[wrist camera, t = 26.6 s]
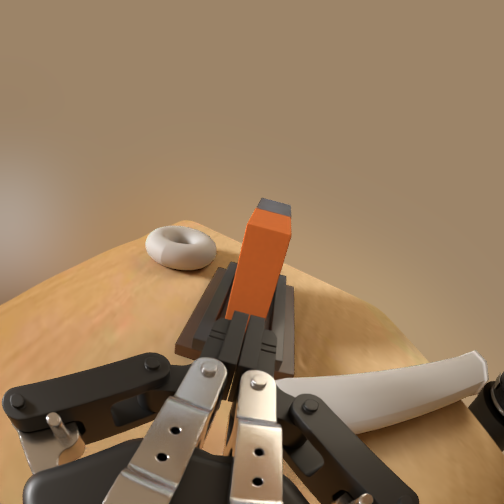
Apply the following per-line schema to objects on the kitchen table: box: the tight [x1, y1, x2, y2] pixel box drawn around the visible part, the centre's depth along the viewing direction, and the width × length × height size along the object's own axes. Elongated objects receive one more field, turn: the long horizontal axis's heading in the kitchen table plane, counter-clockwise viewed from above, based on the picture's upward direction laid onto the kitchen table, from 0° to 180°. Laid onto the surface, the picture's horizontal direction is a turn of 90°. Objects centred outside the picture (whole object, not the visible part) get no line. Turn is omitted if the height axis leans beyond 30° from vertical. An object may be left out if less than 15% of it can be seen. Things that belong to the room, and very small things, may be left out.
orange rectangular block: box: [225, 208, 291, 332], centre depth 26 cm, size 4×6×10 cm, turn 172°
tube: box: [275, 350, 489, 434], centre depth 19 cm, size 5×5×25 cm
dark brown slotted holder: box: [175, 198, 294, 380], centre depth 27 cm, size 10×16×11 cm, turn 173°
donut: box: [145, 226, 216, 270], centre depth 39 cm, size 10×3×10 cm
